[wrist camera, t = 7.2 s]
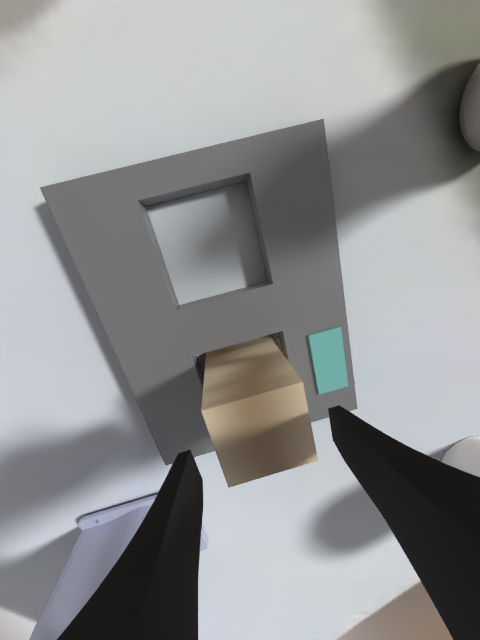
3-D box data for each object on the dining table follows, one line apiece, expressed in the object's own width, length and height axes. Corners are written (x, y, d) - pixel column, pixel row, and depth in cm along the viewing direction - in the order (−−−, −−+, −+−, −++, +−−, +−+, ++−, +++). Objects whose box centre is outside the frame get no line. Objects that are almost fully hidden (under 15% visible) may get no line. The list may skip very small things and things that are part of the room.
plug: (223, 405, 19) (228, 487, 12) (206, 351, 17) (201, 411, 11) (280, 388, 19) (317, 460, 12) (268, 334, 17) (302, 381, 11)
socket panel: (169, 449, 19) (165, 467, 18) (58, 195, 13) (37, 186, 12) (346, 397, 20) (358, 410, 18) (312, 133, 14) (325, 116, 12)
